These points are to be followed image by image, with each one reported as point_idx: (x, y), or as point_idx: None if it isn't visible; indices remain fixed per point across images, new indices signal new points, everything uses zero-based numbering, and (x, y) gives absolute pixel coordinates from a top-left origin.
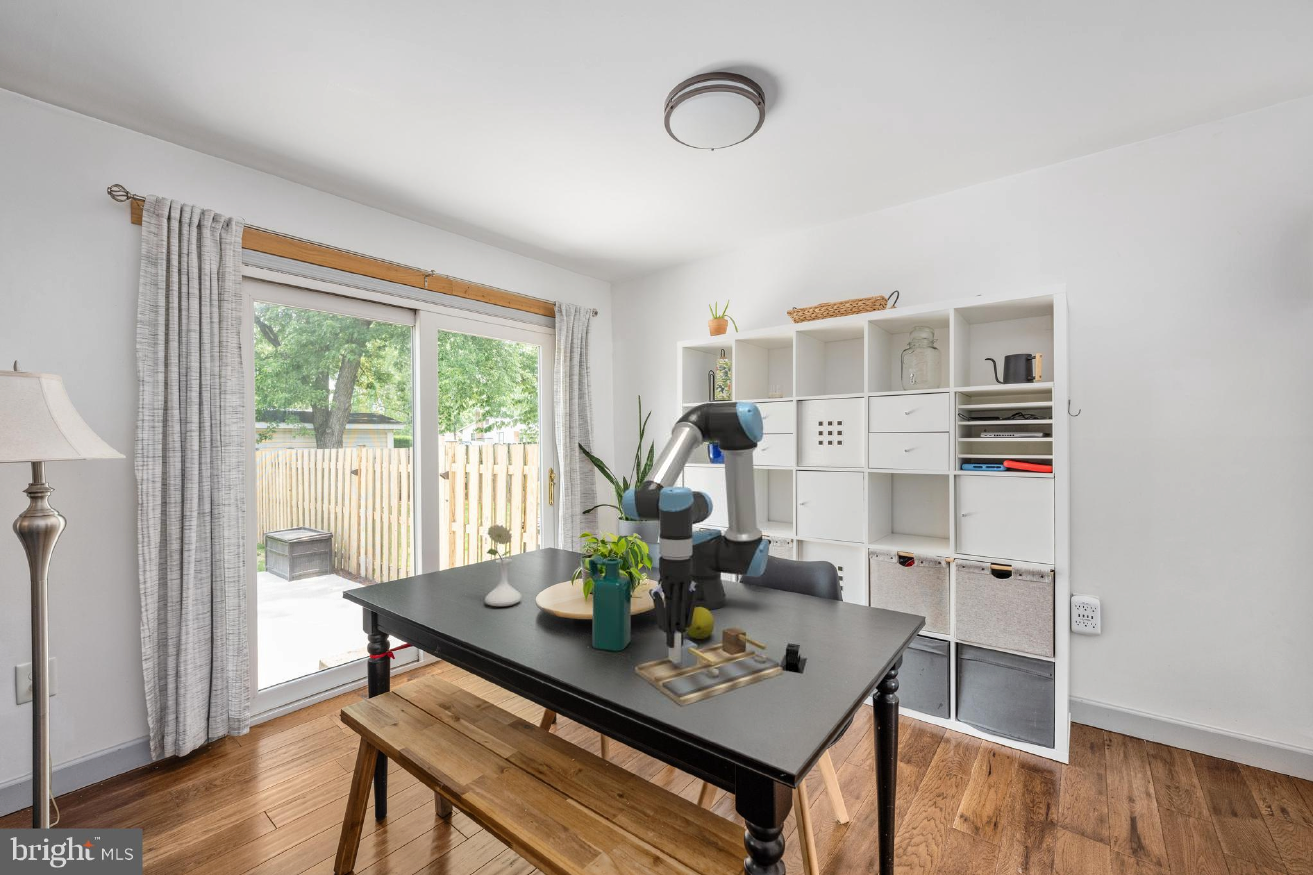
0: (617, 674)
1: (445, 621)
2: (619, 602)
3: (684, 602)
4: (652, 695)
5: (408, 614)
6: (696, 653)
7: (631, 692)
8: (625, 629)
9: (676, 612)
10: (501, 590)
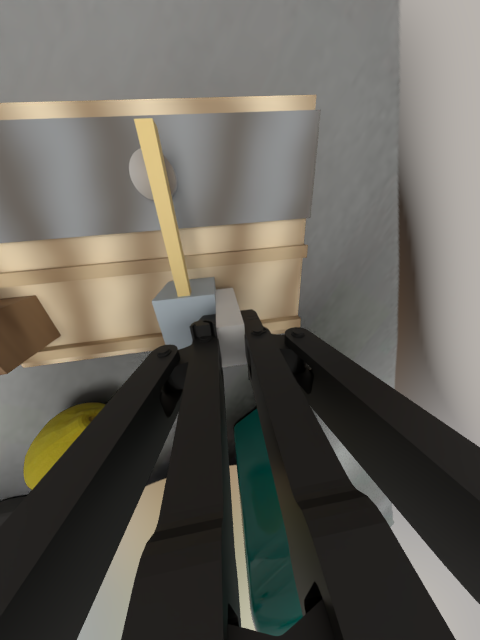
0: (321, 331)
1: (378, 493)
2: None
3: (168, 513)
4: (326, 215)
5: (390, 505)
6: (180, 248)
7: (349, 252)
8: (261, 441)
9: (225, 426)
10: None
